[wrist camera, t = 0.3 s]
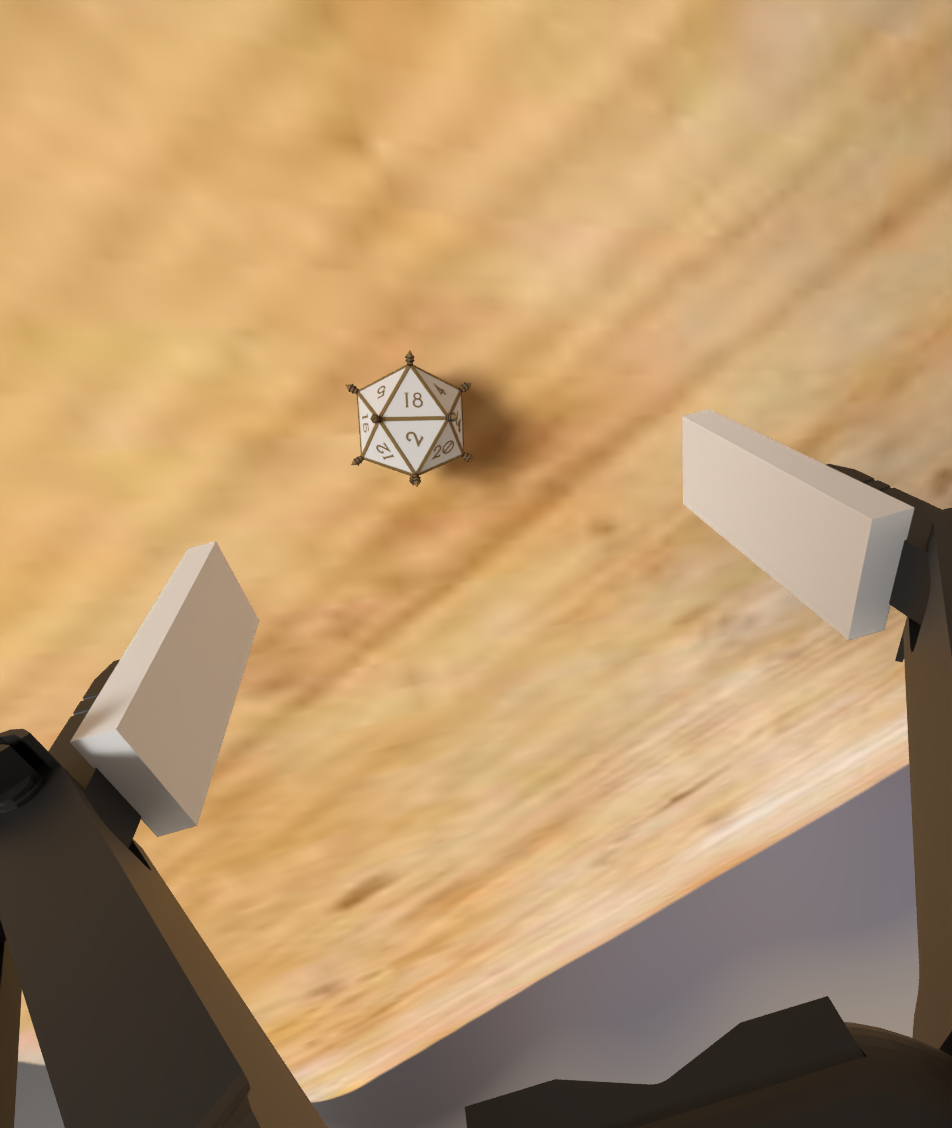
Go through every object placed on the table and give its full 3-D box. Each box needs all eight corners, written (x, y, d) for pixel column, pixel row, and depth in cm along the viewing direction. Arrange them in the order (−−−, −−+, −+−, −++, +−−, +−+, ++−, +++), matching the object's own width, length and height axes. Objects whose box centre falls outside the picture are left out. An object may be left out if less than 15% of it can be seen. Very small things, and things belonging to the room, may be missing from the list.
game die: (419, 376, 43) (507, 352, 36) (425, 484, 44) (511, 483, 37) (313, 365, 37) (391, 333, 30) (323, 489, 39) (400, 489, 31)
